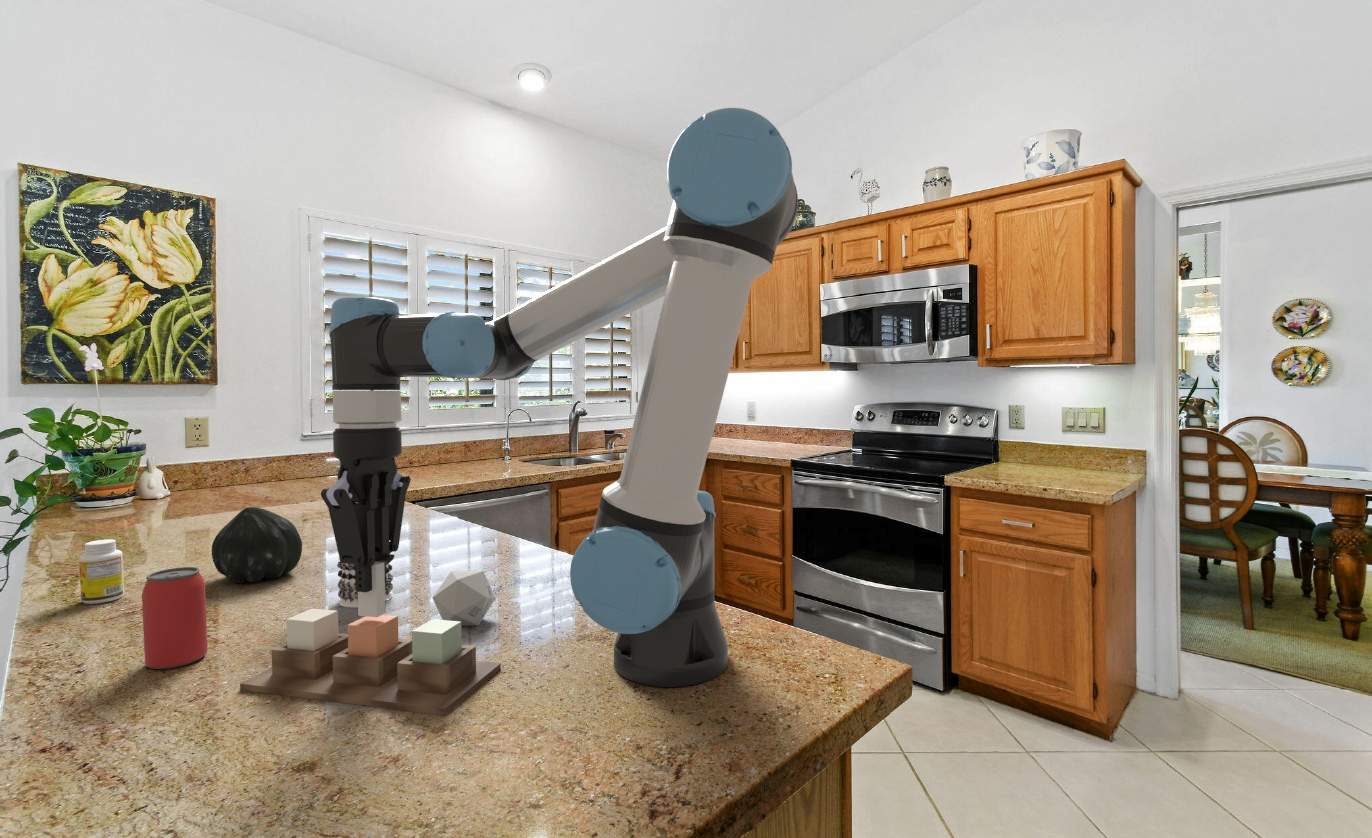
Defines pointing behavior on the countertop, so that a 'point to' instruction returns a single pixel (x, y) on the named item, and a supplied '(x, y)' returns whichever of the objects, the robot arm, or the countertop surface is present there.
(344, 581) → the decorative candle
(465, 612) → the die
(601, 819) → the countertop surface
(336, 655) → the button board
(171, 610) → the beer can
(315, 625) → the ivory button
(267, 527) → the squash
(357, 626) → the terracotta button
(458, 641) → the sage button
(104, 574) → the supplement bottle
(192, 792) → the countertop surface
